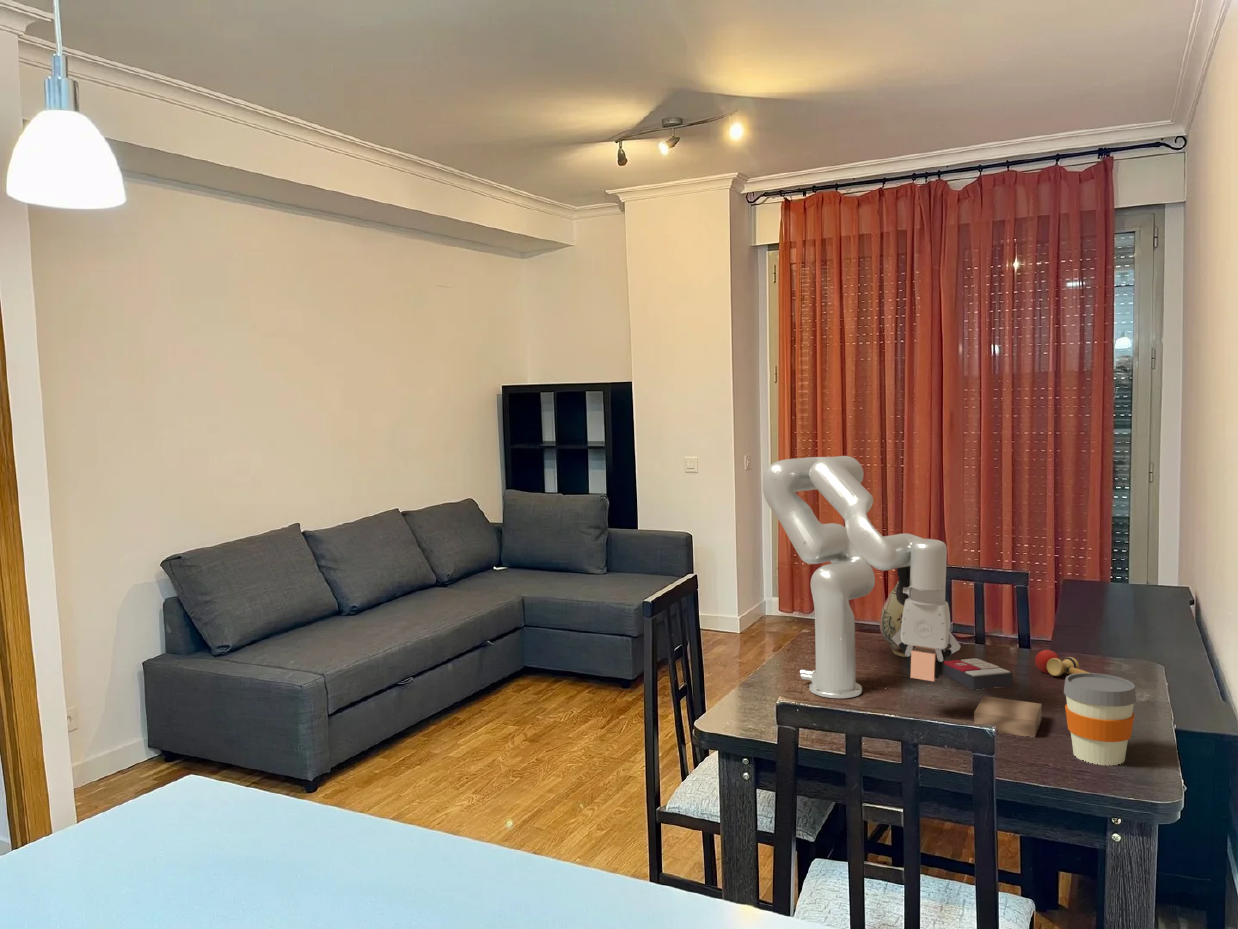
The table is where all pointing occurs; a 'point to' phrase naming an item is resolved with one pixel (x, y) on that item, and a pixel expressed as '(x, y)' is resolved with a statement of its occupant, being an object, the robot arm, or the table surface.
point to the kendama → (1056, 664)
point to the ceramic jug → (895, 610)
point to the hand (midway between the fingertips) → (924, 674)
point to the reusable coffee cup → (1099, 716)
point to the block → (923, 663)
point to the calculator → (977, 674)
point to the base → (1009, 715)
